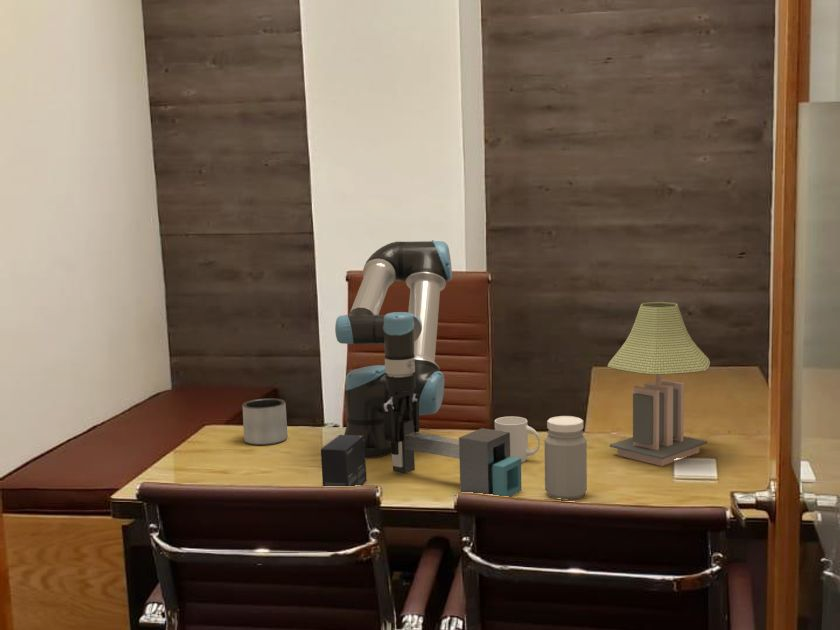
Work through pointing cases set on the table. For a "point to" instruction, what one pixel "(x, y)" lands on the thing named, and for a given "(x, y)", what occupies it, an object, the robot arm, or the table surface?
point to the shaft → (423, 446)
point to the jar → (565, 458)
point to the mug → (517, 436)
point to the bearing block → (481, 458)
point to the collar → (500, 472)
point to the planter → (264, 421)
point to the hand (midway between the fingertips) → (403, 463)
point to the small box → (344, 461)
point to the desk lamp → (659, 384)
